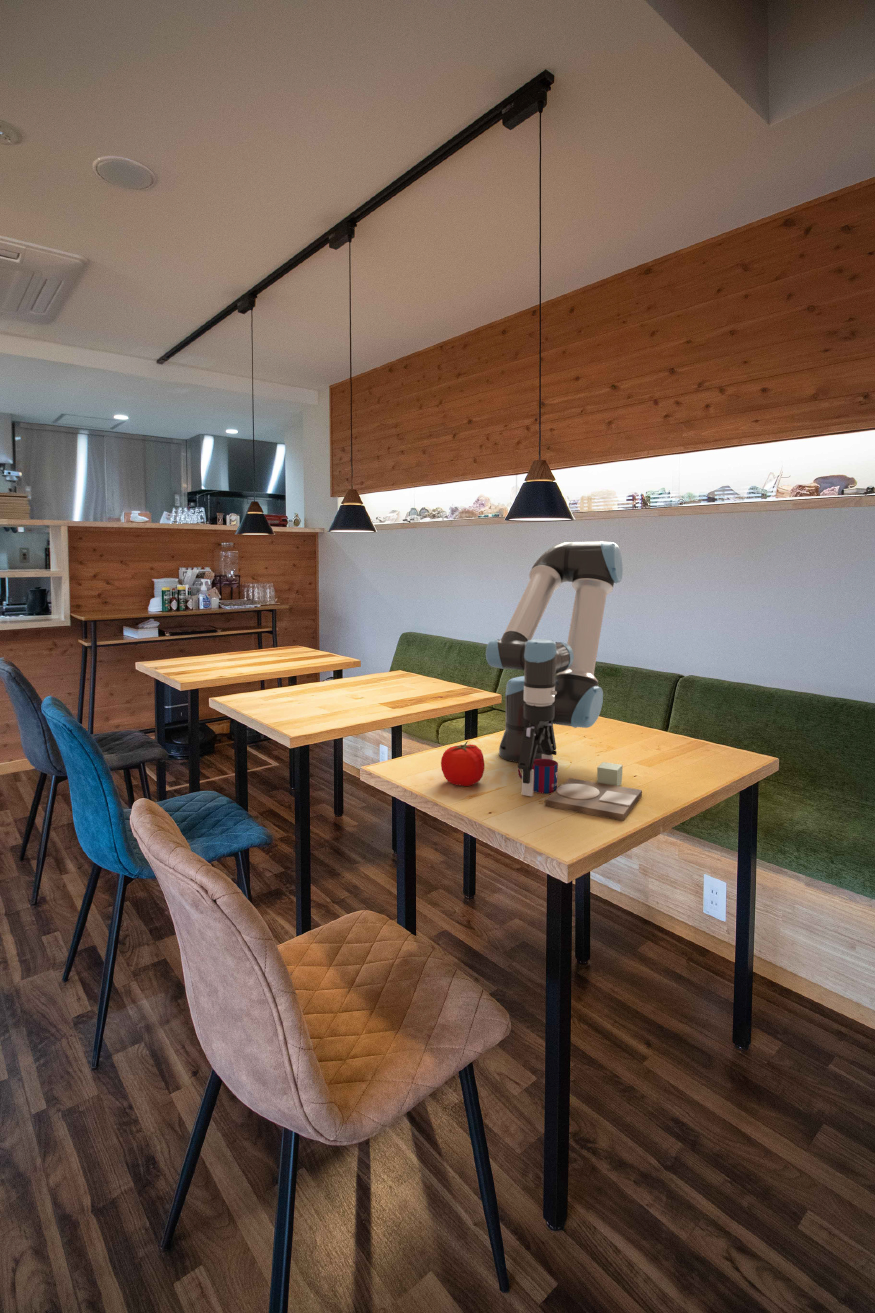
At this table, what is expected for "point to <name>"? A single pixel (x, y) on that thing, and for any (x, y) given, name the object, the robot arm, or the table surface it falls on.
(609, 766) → the pale sage green cube
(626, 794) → the board
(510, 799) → the table surface
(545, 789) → the mug
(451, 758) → the tomato
